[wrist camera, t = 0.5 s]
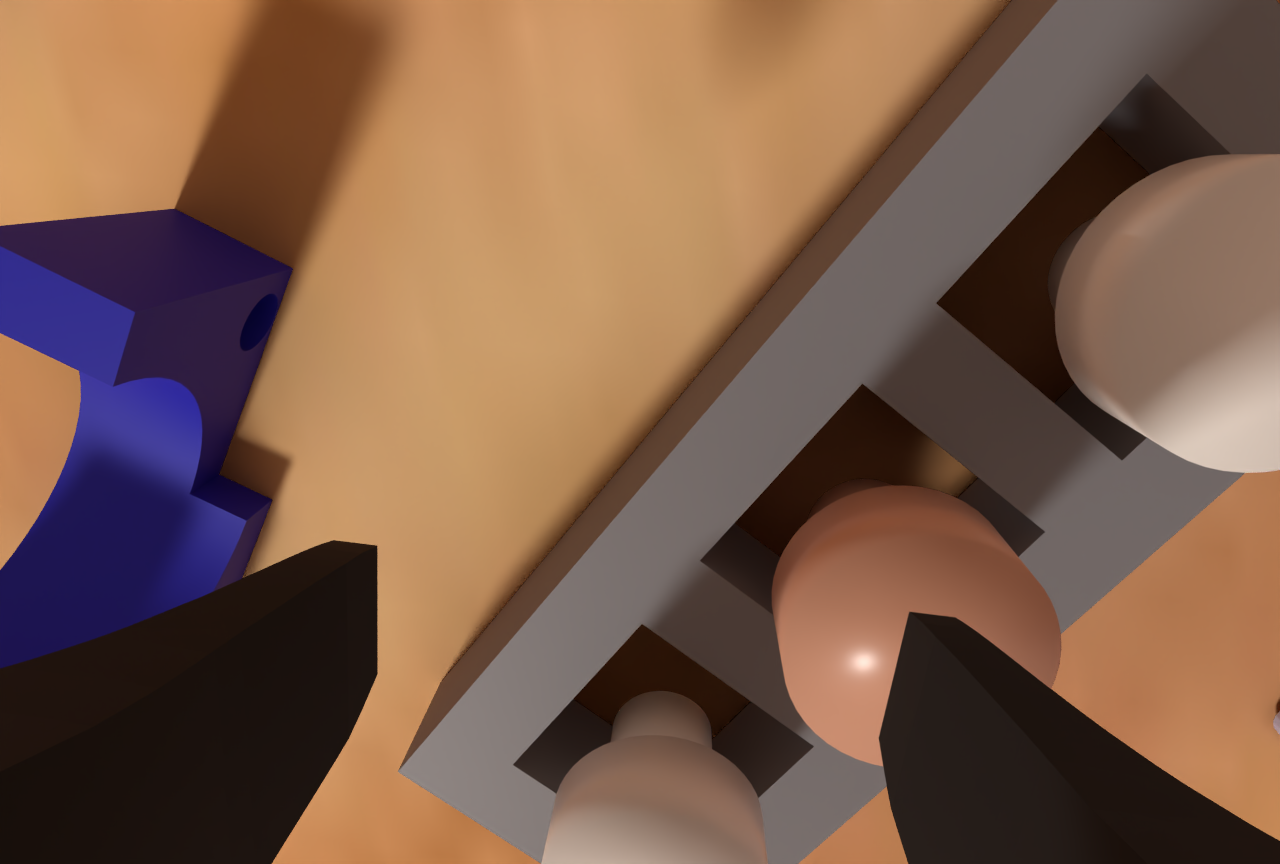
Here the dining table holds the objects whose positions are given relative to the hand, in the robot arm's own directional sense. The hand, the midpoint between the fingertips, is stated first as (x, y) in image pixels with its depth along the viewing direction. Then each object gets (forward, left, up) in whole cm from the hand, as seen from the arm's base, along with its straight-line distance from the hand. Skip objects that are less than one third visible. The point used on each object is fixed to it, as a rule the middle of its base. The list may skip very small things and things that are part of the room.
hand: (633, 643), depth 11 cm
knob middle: (-4, -2, -7) cm, 8 cm away
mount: (-4, -2, -10) cm, 11 cm away
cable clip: (+9, +9, -10) cm, 16 cm away
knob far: (-4, +5, -7) cm, 10 cm away
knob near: (-4, -9, -7) cm, 12 cm away
